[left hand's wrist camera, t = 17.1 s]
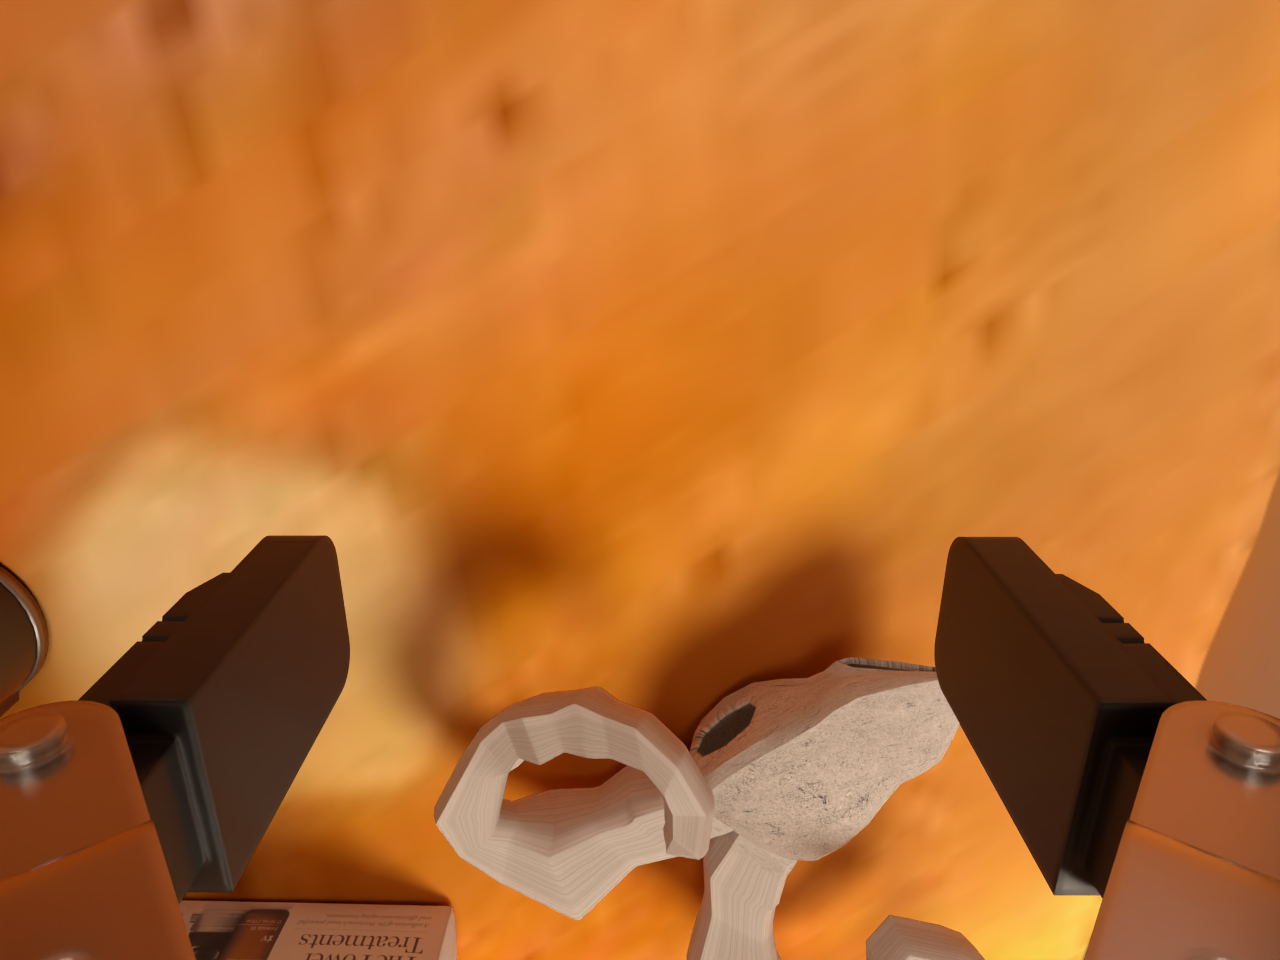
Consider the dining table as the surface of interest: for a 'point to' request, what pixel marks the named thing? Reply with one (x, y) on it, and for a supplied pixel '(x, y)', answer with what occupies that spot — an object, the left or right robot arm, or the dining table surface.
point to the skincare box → (318, 931)
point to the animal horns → (706, 797)
